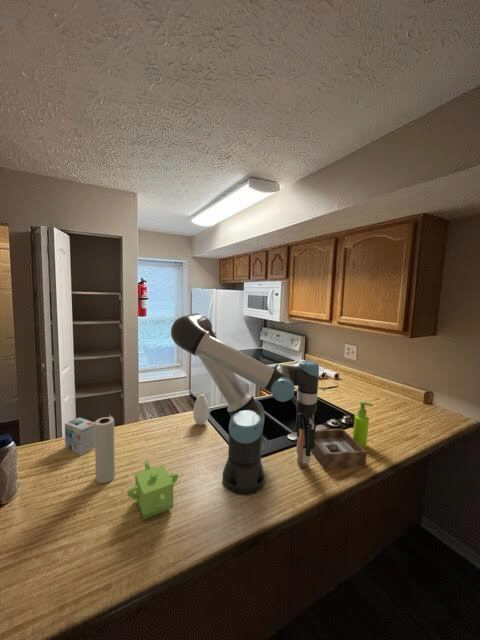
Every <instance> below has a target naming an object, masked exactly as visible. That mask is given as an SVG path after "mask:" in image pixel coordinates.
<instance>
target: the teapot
mask: <svg viewBox="0 0 480 640" xmlns="http://www.w3.org/2000/svg"><path fill="white" fill-rule="evenodd" d="M144 466H145V467H144V470H142V471H139V472H136V473H135V475H134V476H135V477H134V478H135V483H134V484H135V485H134V486H132V487H130V488H129V489H128V490H127V496H128V497H130V498H131V499H133V500H136V502H137V505H138V508H139V511H140V514H141V517H142V520H143V521H144V520H147V519H150V518H152V517H154V516H156V515H159V514H163V513H164V512H166V511H169V510H171V509H174V484H175V483H176V482H177V480H178V478H179V474H178V473H176V472H173V473H168V471H167V470H166V467H165V466H164V465H163V464H162V465H159V466H156V467H152V468H151V465H150V462H149V460H147V459H145V460H144Z"/></svg>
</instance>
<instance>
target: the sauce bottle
mask: <svg viewBox="0 0 480 640" xmlns="http://www.w3.org/2000/svg"><path fill="white" fill-rule="evenodd" d="M200 391H201V393H200V394H199V395H198V397H197V398H196V400H195V402H194V406H193V409H192V410H193V411H192V414H193V415H192V416H193V421H194V422H195V423H196V424H197V425H199V426H202V425H205V424H206V423H207V422H208V420H209V417H210V406H209V402H208V399H207V398H206V397H205V394H204V393H203V390H202V389H201V390H200Z"/></svg>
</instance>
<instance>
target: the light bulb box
mask: <svg viewBox="0 0 480 640" xmlns="http://www.w3.org/2000/svg"><path fill="white" fill-rule="evenodd" d="M64 443H65V446H64V448H65V449H67V450H70V451H71V452H74V453H75V454H78V455H80V456H82V455H84V454H86V453H88V452H90V451H92V450H93V449H95V421H94V422H93V421H90V420H88V419H85V418H82V417H80V416H79V417H77V418H75V419H72V420H70V421H68V422H66V423H65V422H64Z"/></svg>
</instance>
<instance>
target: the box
mask: <svg viewBox="0 0 480 640" xmlns="http://www.w3.org/2000/svg"><path fill="white" fill-rule="evenodd" d="M335 450H336V452H335ZM331 451H334V452H331ZM367 453H368V451H367V450H366V449H365V448H363V447H362V446H360V445H359V444H358V443H357V442H356V441H355V440H354V439H353V436H351V435H350V434H349V433H348V432H347V431H346V430H344V429H343V428H332V429H331V428H330V429H315V447H314V449H311V454H312V455H313V457H314V458H315V460H316V461H317V462H318V463H319V465H320V466H321V468H322V469H323V470H329V469H330V470H333V469H343V468H357V467H366V466H367V456H368V454H367Z"/></svg>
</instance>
